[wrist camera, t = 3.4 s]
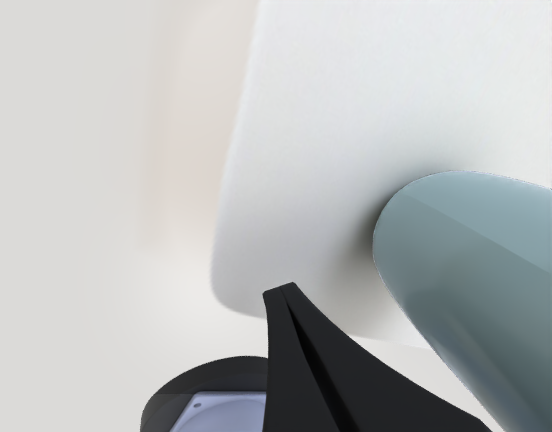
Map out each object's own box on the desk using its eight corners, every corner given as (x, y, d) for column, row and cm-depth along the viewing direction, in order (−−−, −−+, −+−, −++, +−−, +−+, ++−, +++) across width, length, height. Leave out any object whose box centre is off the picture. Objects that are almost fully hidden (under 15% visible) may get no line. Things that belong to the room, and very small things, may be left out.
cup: (364, 155, 12) (744, 350, 4) (488, 146, 14) (906, 260, 6) (340, 281, 16) (506, 511, 8) (440, 259, 18) (656, 423, 10)
